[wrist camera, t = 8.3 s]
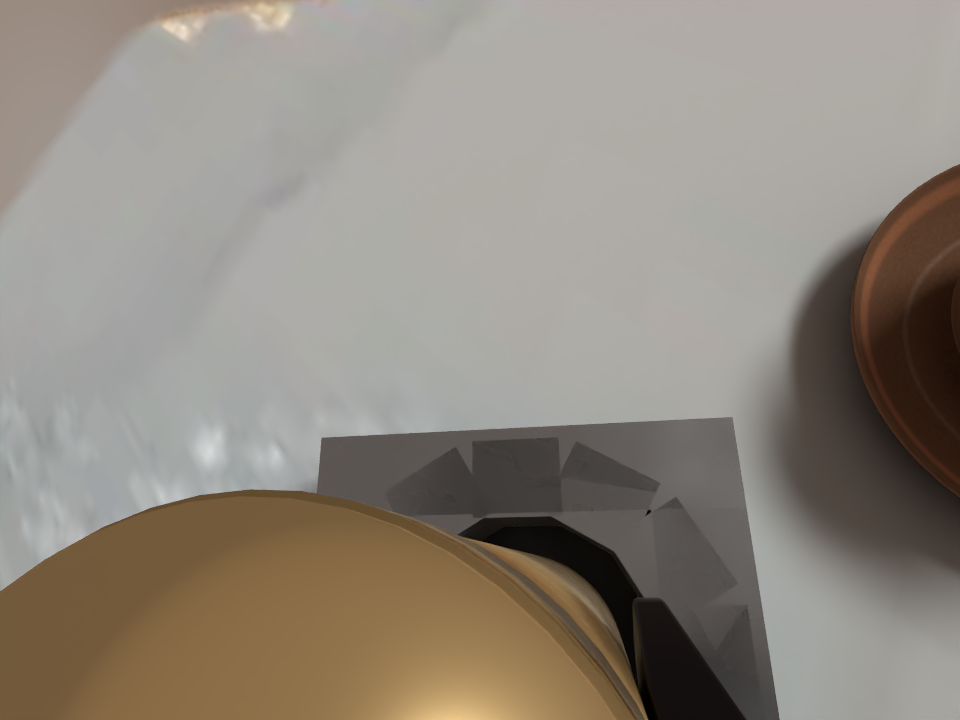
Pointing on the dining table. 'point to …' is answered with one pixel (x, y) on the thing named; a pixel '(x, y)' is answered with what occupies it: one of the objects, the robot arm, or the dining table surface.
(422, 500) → the block
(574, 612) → the gold metallic cylinder
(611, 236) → the dining table surface
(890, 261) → the cup and saucer
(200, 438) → the dining table surface
